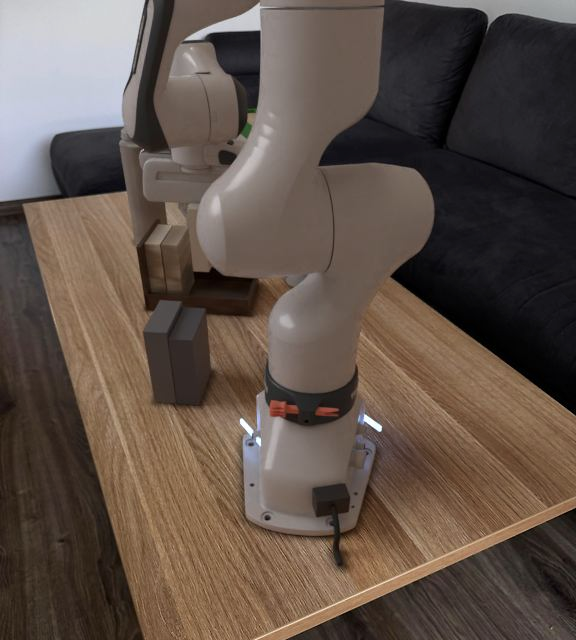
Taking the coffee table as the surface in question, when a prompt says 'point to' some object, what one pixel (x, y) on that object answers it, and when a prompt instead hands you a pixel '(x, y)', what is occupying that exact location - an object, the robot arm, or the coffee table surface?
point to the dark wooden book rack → (188, 275)
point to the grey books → (178, 353)
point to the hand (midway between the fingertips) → (203, 225)
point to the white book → (196, 241)
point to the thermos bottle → (138, 190)
